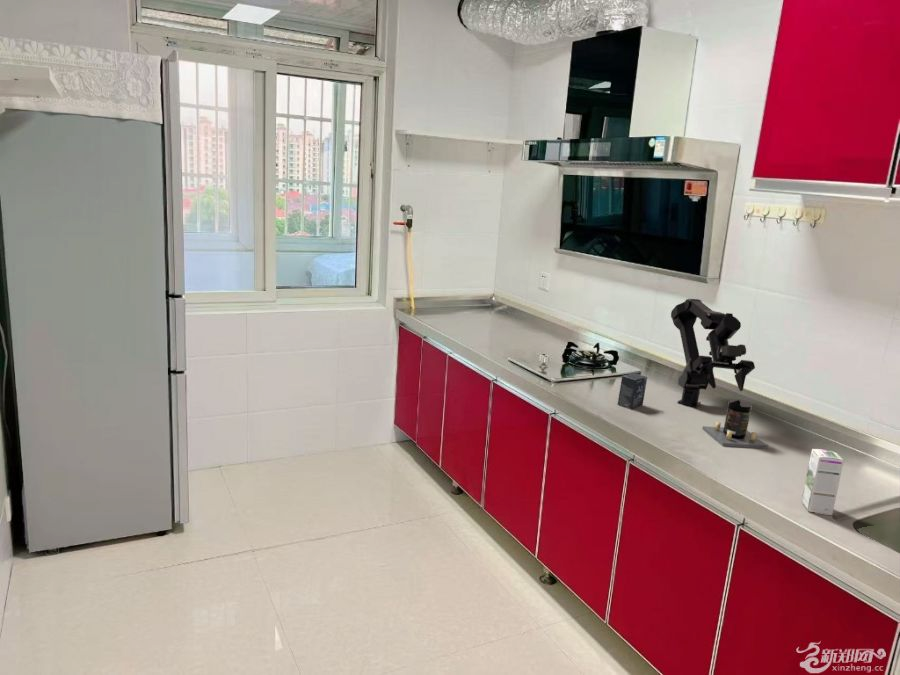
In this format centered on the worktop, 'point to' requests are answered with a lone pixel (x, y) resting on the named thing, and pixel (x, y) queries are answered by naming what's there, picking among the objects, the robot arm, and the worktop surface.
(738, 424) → the supplement container
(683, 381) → the robot arm
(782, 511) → the worktop surface
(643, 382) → the box
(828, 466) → the syrup box
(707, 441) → the worktop surface
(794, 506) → the worktop surface
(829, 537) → the worktop surface
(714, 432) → the plate
